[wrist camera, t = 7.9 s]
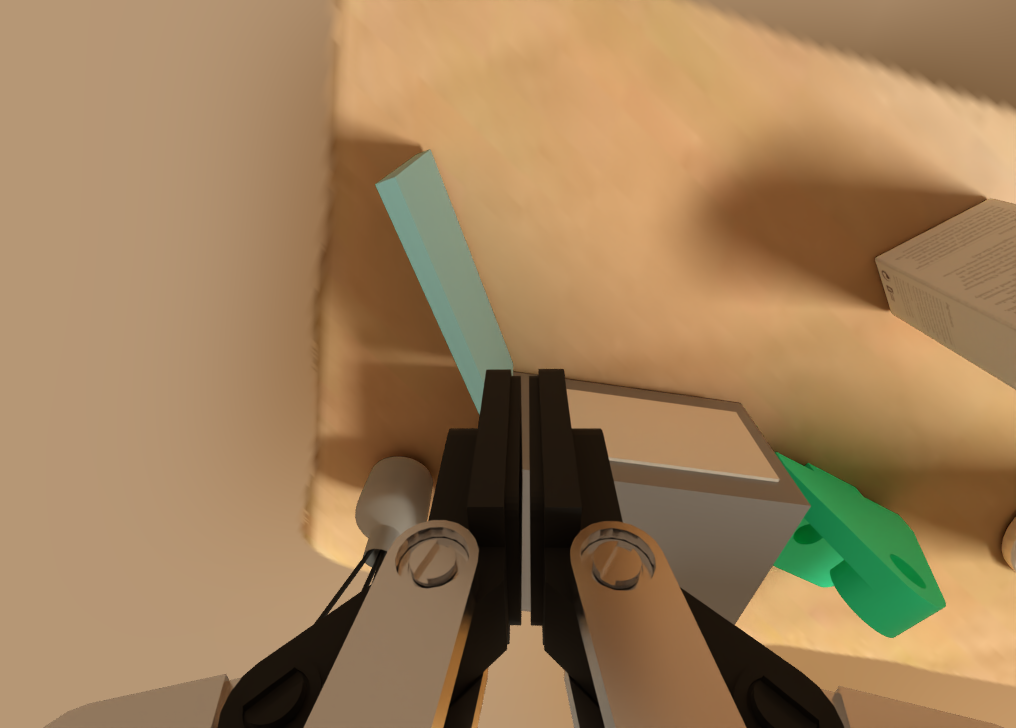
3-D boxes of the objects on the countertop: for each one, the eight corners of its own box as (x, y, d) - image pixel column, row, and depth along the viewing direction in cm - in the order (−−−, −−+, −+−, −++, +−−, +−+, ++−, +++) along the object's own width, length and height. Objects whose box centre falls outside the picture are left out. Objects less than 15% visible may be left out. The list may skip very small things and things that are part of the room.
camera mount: (696, 509, 38) (751, 642, 29) (768, 441, 34) (856, 568, 25) (811, 561, 40) (894, 698, 31) (889, 503, 37) (1006, 638, 28)
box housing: (741, 400, 32) (812, 503, 24) (685, 519, 38) (729, 633, 30) (500, 367, 31) (494, 462, 23) (479, 493, 37) (469, 604, 29)
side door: (513, 363, 31) (511, 446, 24) (501, 367, 31) (495, 451, 24) (430, 149, 24) (394, 176, 18) (415, 154, 25) (375, 184, 18)
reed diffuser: (340, 486, 37) (182, 846, 20) (346, 413, 33) (160, 772, 16) (473, 510, 38) (435, 873, 20) (492, 442, 34) (465, 809, 17)
